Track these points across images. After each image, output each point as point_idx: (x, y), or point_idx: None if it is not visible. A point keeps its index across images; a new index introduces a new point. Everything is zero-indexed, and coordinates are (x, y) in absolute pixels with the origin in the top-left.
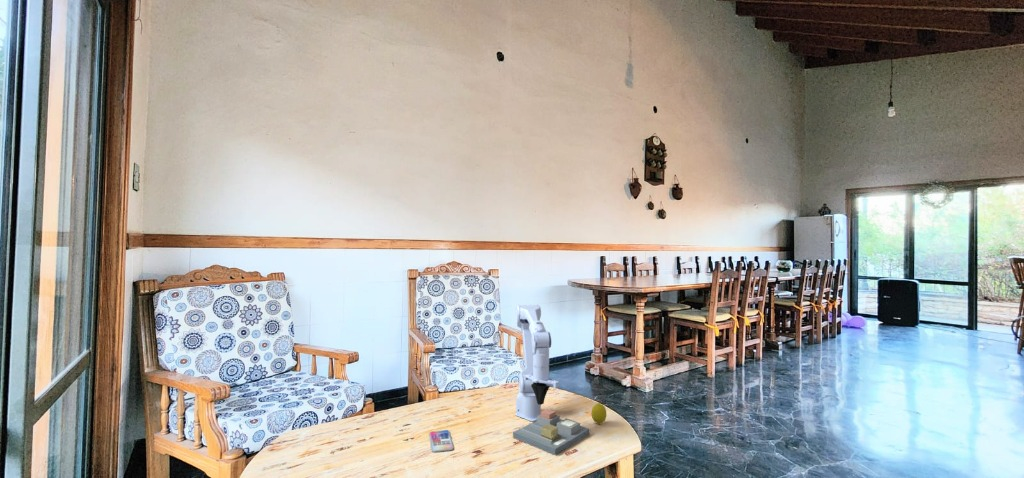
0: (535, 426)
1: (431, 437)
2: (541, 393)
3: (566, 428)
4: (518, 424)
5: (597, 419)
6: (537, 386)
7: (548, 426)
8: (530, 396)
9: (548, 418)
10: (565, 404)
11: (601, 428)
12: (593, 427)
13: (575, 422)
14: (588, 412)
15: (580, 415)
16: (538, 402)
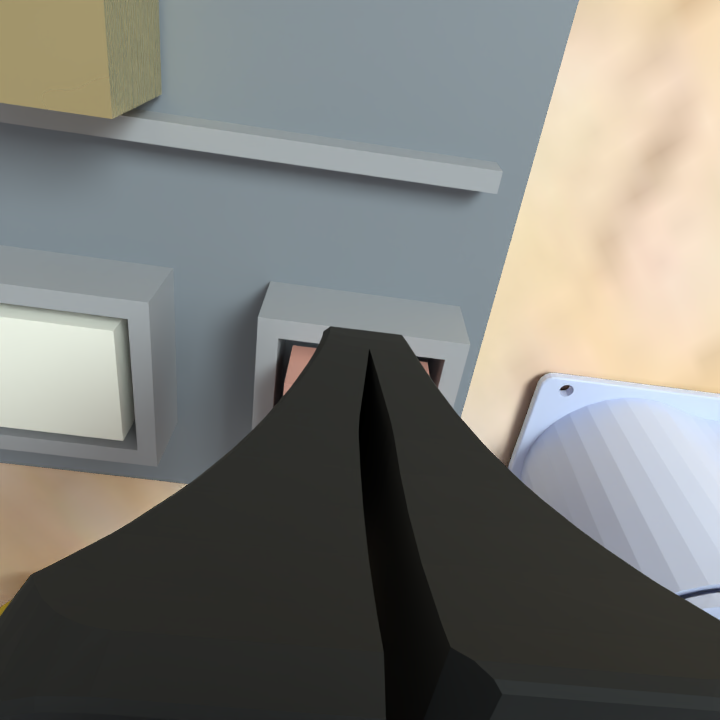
0: (389, 153)
1: None
2: (199, 477)
3: (2, 271)
4: (669, 247)
5: None
6: (283, 686)
7: (38, 12)
8: (697, 596)
9: (304, 356)
10: None
11: (11, 548)
12: (64, 535)
13: (5, 426)
14: None
15: None
16: (366, 343)
